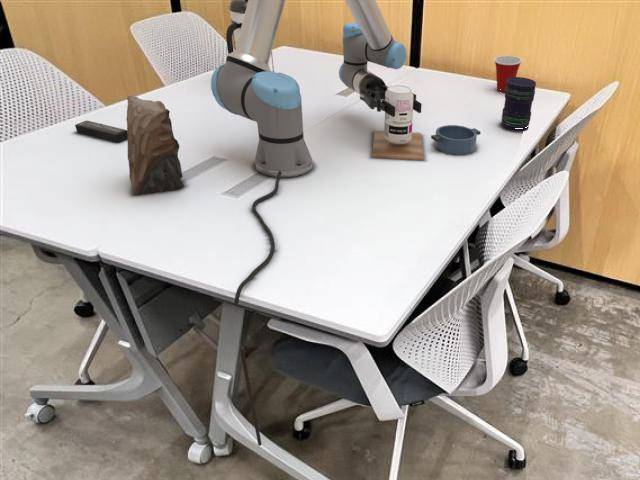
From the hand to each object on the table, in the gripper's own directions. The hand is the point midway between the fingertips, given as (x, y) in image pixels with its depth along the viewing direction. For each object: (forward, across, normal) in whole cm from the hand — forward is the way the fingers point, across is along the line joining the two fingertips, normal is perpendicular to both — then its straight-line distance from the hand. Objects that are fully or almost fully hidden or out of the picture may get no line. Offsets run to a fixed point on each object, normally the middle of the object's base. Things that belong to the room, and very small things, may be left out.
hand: (407, 110), depth 169 cm
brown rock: (-6, +70, -12) cm, 72 cm away
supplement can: (-5, 0, -11) cm, 12 cm away
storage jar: (-4, -46, -13) cm, 48 cm away
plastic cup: (-38, -68, -13) cm, 79 cm away
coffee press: (-75, +19, -13) cm, 78 cm away
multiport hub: (-44, +75, -12) cm, 88 cm away
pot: (+3, -16, -12) cm, 21 cm away
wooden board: (-5, 0, -12) cm, 13 cm away
